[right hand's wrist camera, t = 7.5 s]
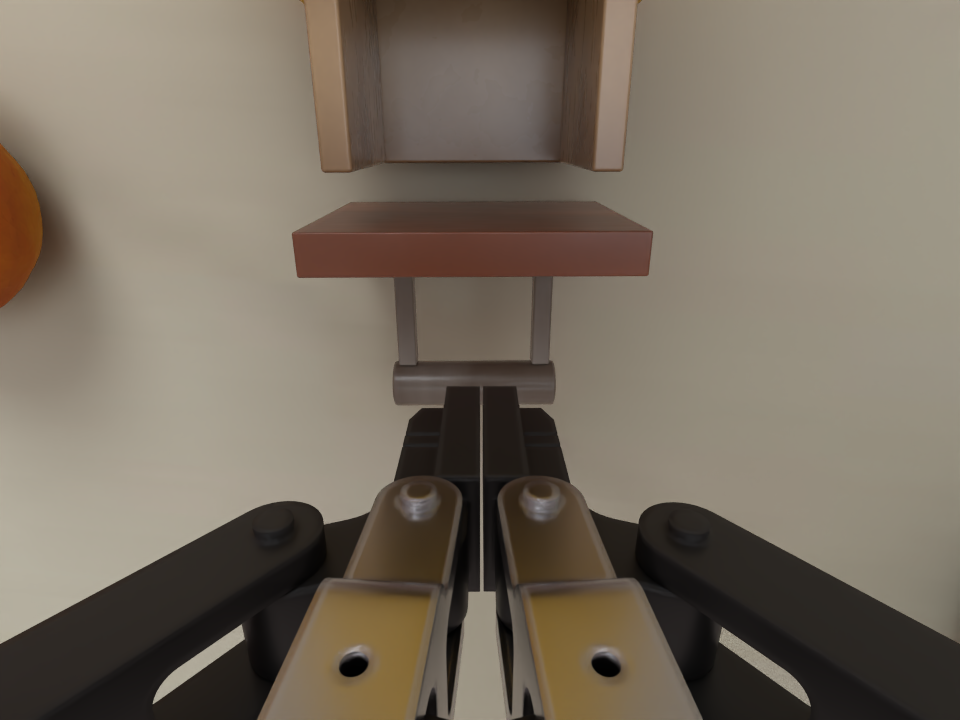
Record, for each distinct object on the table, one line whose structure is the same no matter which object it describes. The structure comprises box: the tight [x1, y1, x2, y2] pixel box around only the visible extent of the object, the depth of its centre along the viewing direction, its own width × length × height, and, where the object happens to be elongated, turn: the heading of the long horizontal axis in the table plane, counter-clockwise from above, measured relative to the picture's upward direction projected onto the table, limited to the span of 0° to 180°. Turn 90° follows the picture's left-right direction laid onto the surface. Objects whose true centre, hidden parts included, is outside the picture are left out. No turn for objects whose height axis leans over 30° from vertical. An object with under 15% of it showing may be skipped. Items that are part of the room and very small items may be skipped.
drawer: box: [292, 0, 653, 405], centre depth 16 cm, size 24×9×7 cm, turn 0°
